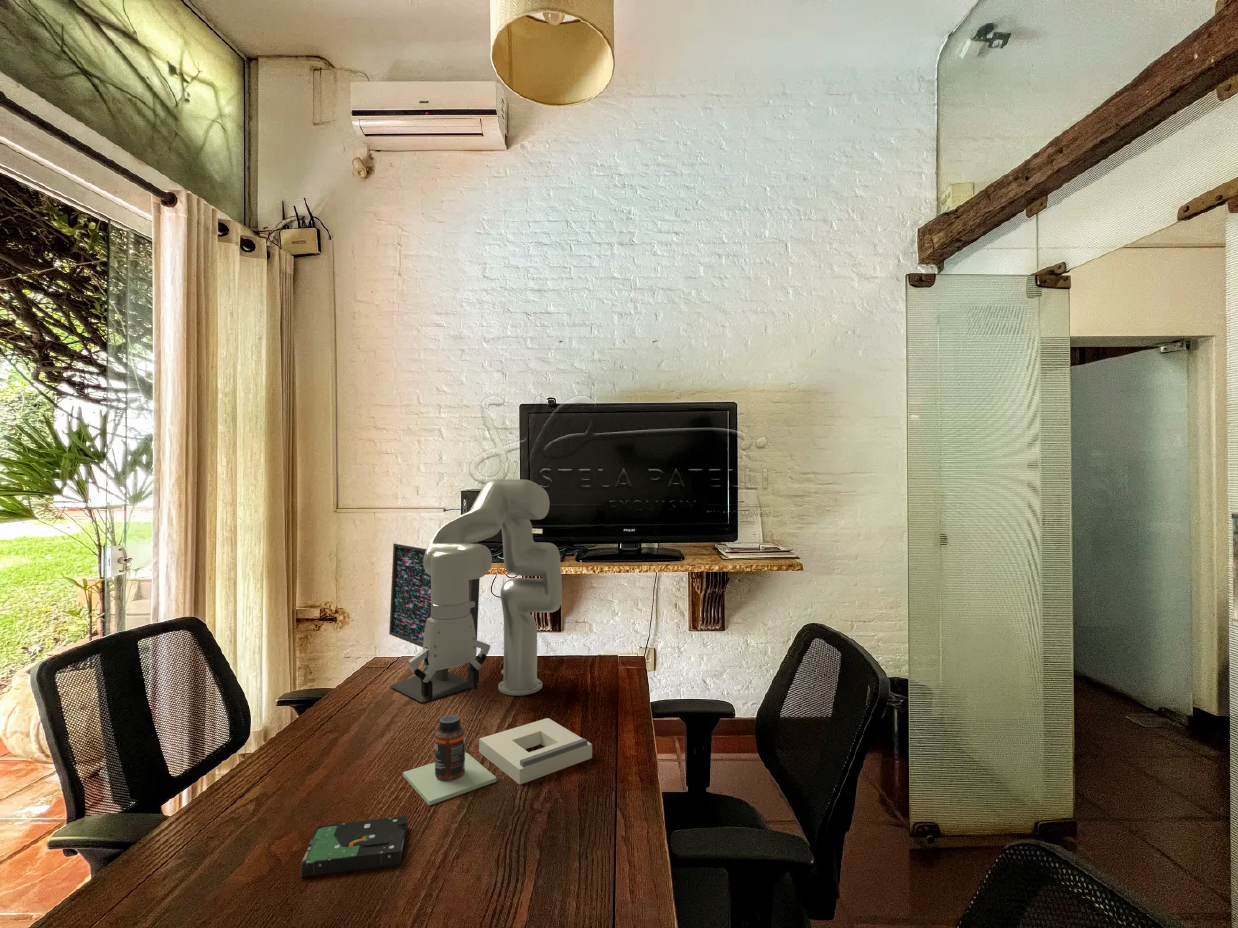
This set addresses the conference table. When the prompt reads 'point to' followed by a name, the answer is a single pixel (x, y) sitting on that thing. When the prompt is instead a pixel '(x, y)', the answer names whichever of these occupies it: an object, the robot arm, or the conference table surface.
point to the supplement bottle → (449, 748)
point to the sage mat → (448, 781)
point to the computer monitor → (420, 617)
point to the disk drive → (355, 846)
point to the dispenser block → (528, 766)
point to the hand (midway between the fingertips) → (450, 693)
